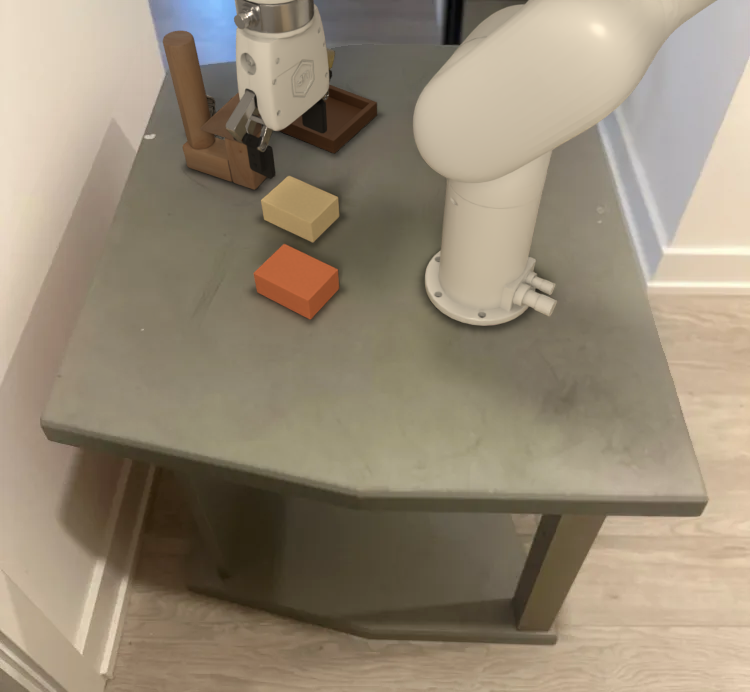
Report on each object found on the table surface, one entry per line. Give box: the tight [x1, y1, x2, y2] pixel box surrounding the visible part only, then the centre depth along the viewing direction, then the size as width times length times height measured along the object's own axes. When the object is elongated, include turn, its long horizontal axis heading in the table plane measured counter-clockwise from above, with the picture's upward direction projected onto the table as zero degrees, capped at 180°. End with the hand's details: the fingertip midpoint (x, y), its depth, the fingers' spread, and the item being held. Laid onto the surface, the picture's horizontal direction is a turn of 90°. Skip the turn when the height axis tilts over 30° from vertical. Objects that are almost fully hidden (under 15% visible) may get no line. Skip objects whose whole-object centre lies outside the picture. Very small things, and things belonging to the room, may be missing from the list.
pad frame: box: [230, 83, 378, 154], centre depth 105 cm, size 18×11×2 cm, turn 57°
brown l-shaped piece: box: [162, 30, 267, 190], centre depth 91 cm, size 4×11×18 cm, turn 64°
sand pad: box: [260, 175, 340, 243], centre depth 91 cm, size 8×6×3 cm
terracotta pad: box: [253, 243, 340, 320], centre depth 83 cm, size 8×6×3 cm
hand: (289, 150), depth 85 cm, fingers open, 9 cm apart
